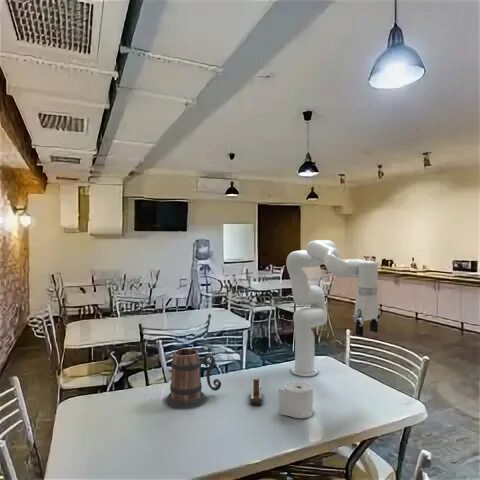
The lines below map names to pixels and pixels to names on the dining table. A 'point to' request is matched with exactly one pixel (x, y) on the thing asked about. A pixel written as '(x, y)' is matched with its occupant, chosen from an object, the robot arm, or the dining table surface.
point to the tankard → (188, 379)
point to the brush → (256, 392)
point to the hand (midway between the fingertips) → (366, 333)
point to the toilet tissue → (296, 400)
